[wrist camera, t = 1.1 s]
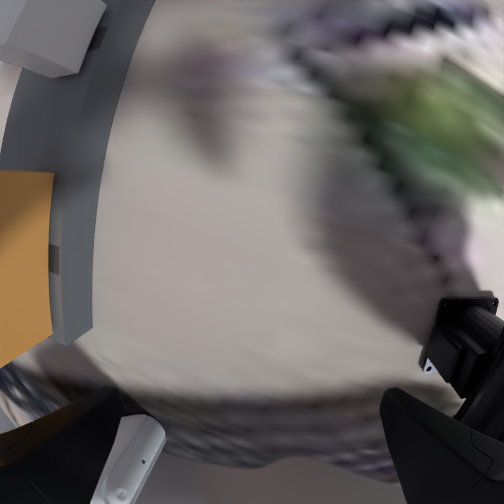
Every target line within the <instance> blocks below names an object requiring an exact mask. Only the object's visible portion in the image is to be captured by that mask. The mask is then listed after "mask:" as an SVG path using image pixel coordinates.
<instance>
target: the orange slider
mask: <svg viewBox="0 0 504 504" xmlns="http://www.w3.org/2000/svg"><path fill="white" fill-rule="evenodd" d="M53 181H54V173H51V172H42V171H32V170H0V368H1V367H3V366H4V365H6V364H7V363H9V362H10V361H12V360H13V359H15V358H16V357H18V356H19V355H21V354H22V353H24V352H25V351H27V350H28V349H30V348H31V347H33V346H35V345H36V344H38V343H39V342H41V341H42V340H44V339H45V338H47V337H48V336H50V335H52V334H53V331H52V322H51V312H50V299H49V277H48V243H49V221H50V208H51V198H52V189H53Z"/></svg>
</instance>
